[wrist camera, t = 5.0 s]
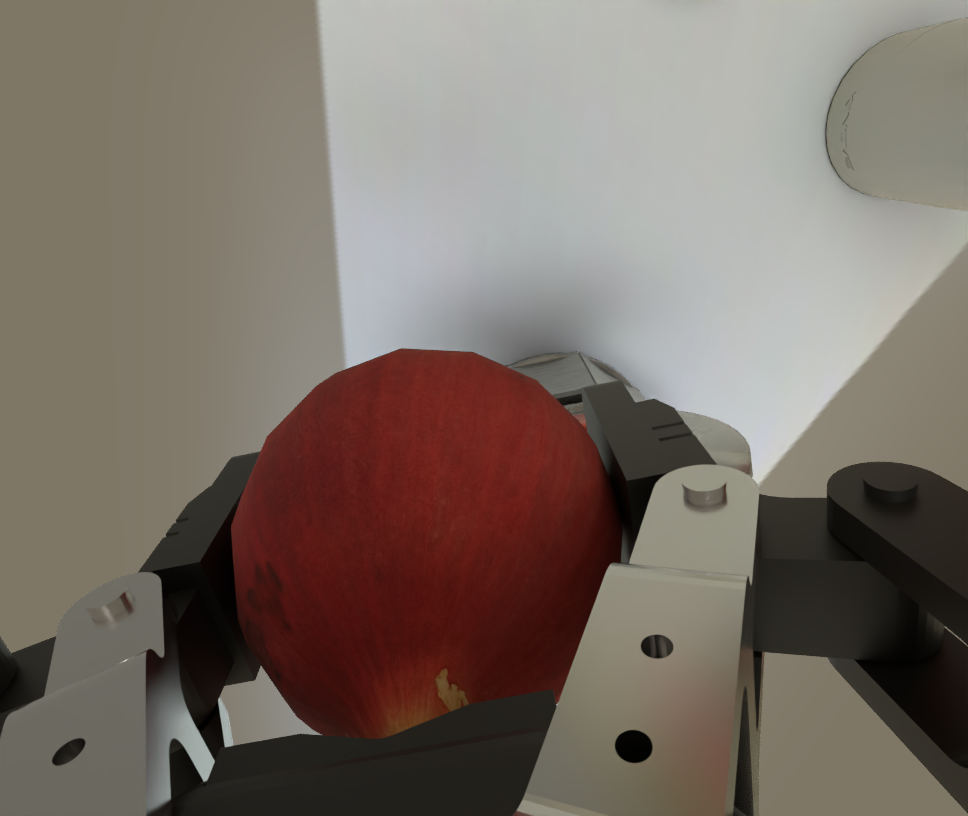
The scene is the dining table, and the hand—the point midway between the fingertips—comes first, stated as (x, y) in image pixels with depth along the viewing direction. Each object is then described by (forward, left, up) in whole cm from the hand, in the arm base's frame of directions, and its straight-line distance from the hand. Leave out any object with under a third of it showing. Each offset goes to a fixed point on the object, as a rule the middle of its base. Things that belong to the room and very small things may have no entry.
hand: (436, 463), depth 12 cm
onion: (0, 0, -1) cm, 1 cm away
